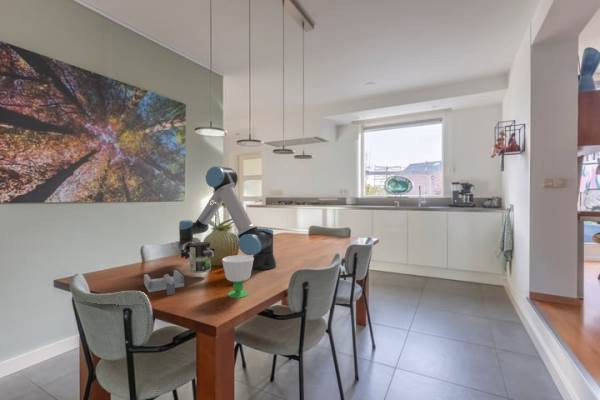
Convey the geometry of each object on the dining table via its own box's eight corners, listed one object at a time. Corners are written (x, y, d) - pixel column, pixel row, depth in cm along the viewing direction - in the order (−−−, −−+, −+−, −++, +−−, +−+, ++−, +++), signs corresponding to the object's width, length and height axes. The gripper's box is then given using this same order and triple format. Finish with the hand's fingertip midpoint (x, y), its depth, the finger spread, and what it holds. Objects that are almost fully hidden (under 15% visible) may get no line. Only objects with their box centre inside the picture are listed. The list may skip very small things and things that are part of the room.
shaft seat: (144, 283, 144) (143, 269, 143) (176, 278, 152) (176, 265, 152) (152, 298, 124) (152, 282, 124) (189, 291, 133) (188, 276, 133)
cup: (224, 301, 121) (224, 263, 120) (219, 291, 133) (219, 256, 133) (257, 297, 126) (257, 260, 126) (249, 287, 139) (249, 254, 138)
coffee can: (214, 268, 158) (213, 242, 158) (204, 273, 148) (203, 245, 148) (196, 267, 160) (196, 241, 160) (185, 272, 150) (185, 245, 150)
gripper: (210, 252, 175) (224, 259, 157) (169, 258, 162) (179, 266, 144) (210, 240, 175) (223, 245, 157) (169, 244, 162) (179, 250, 144)
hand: (202, 255), depth 151 cm, fingers closed on coffee can, 10 cm apart
